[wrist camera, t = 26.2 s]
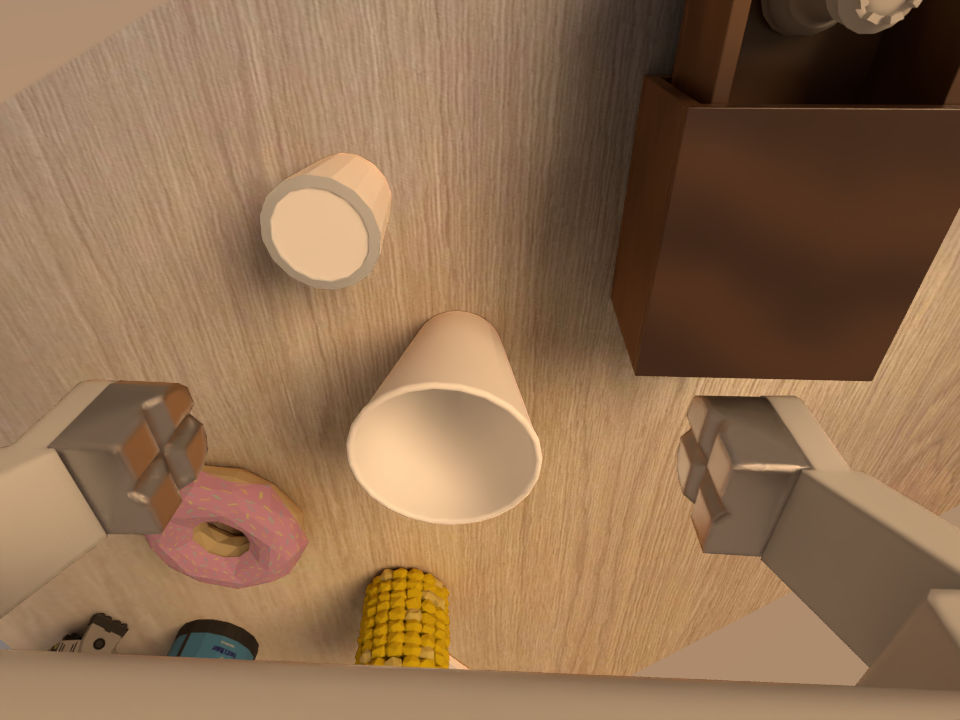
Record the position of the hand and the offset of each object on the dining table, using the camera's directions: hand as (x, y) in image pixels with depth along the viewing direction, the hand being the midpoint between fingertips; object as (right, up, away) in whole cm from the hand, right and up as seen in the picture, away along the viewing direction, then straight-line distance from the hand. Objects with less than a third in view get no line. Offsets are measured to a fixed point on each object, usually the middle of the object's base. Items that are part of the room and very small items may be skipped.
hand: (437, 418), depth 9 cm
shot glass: (-8, +12, +28) cm, 31 cm away
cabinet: (+17, +11, +27) cm, 34 cm away
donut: (-24, -14, +47) cm, 54 cm away
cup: (-1, +2, +34) cm, 34 cm away
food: (-7, -25, +53) cm, 59 cm away
